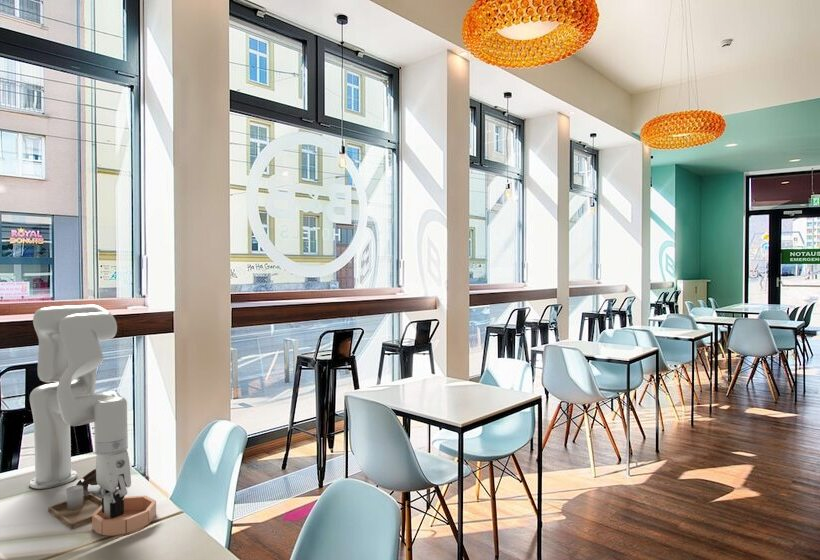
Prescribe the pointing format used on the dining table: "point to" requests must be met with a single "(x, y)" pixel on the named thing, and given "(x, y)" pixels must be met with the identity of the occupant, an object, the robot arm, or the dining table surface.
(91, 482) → the brown piece
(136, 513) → the bowl
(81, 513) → the tray
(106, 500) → the stone
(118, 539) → the dining table surface
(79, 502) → the stone
